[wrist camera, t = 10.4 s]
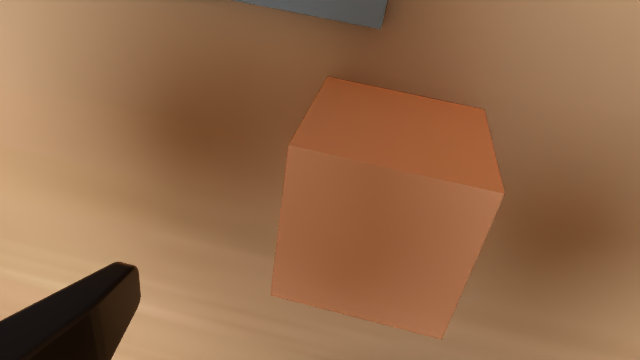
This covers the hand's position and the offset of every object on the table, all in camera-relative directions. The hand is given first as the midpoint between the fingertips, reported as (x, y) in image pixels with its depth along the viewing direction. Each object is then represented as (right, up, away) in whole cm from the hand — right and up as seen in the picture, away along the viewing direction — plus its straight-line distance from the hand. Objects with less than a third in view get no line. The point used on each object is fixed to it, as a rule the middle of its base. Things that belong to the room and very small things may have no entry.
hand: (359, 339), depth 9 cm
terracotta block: (+1, +4, +6) cm, 7 cm away
